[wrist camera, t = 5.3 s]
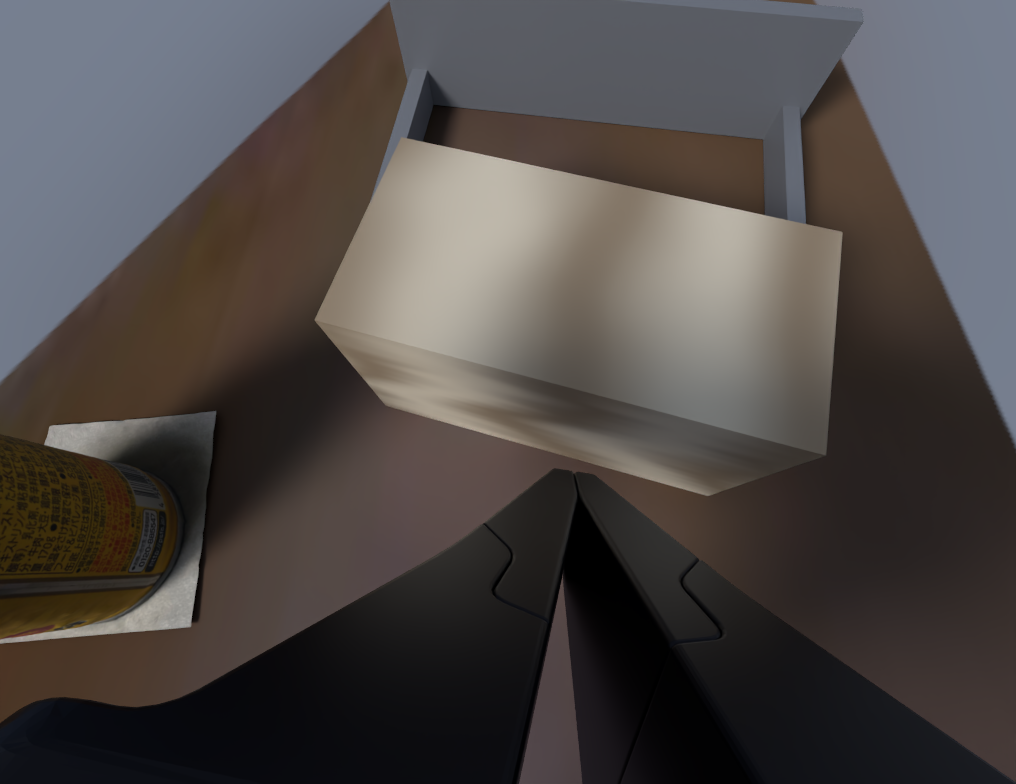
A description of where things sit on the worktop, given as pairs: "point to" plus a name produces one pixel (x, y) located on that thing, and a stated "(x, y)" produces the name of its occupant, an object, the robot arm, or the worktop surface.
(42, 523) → the condiment
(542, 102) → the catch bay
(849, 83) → the worktop surface
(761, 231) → the wide block
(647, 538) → the robot arm
